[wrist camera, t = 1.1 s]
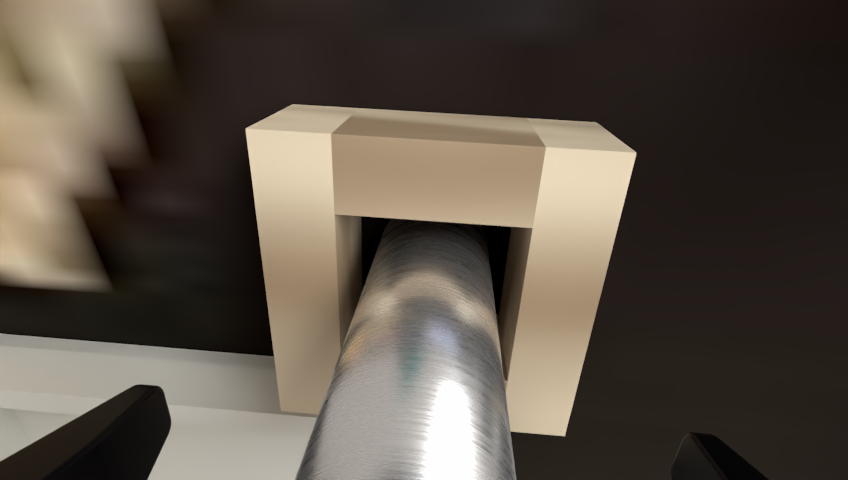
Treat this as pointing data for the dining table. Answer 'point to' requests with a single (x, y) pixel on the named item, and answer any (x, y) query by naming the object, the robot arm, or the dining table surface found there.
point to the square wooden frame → (443, 202)
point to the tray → (185, 394)
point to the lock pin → (418, 367)
